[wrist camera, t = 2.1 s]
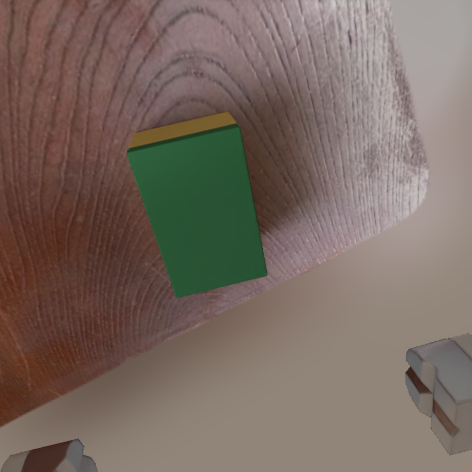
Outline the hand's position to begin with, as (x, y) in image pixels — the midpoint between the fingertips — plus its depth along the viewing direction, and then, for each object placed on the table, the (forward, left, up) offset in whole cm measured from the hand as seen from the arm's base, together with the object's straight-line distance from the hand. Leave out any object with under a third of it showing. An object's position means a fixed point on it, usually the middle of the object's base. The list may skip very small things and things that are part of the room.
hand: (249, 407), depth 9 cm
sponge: (0, 0, -14) cm, 14 cm away
